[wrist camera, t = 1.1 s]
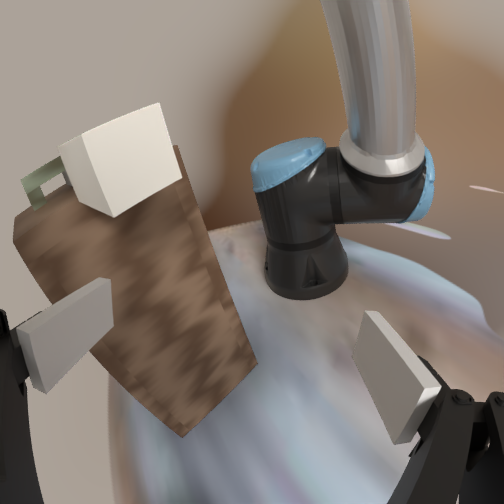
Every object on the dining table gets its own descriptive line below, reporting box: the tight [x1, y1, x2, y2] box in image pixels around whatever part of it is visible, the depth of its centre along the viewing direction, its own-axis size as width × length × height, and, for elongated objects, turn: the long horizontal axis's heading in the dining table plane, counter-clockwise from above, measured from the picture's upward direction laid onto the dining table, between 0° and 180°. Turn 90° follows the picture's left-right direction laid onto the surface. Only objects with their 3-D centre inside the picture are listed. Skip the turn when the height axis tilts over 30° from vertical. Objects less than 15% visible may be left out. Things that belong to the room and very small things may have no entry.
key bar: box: [57, 103, 182, 217], centre depth 17 cm, size 4×18×4 cm, turn 49°
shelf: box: [13, 145, 258, 438], centre depth 30 cm, size 15×14×33 cm
